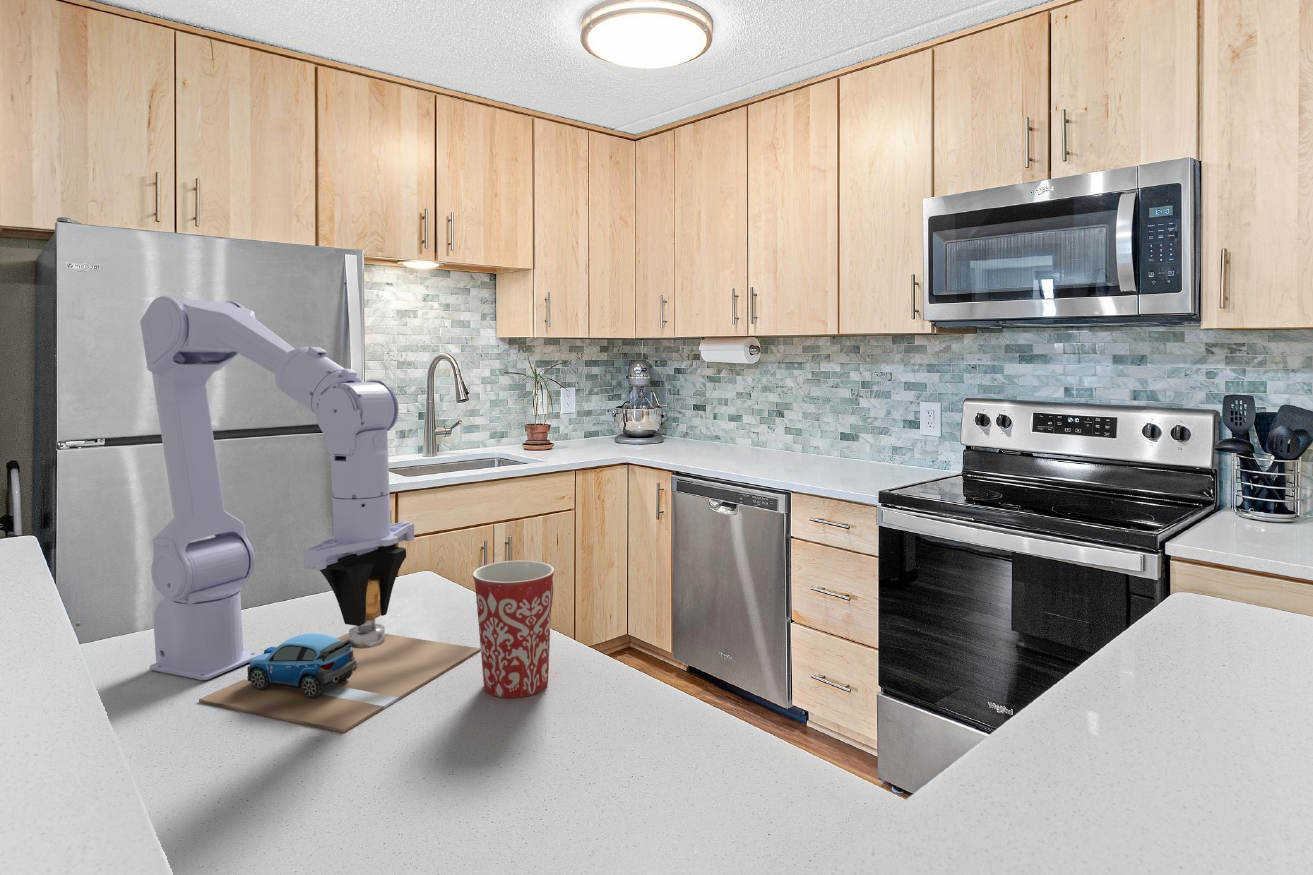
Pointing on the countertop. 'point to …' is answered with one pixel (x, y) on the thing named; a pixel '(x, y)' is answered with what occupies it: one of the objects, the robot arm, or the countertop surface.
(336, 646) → the toy car
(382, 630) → the coffee tamper
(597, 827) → the countertop surface
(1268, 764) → the countertop surface
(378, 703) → the board
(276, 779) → the countertop surface
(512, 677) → the mug
